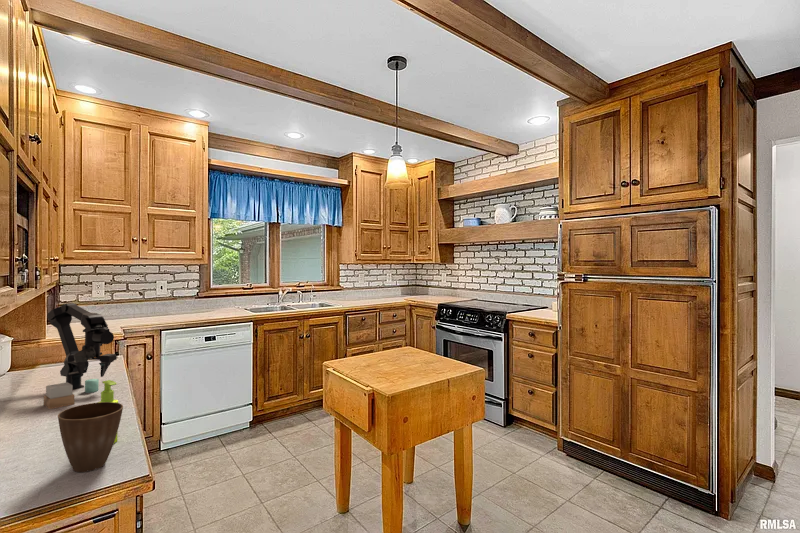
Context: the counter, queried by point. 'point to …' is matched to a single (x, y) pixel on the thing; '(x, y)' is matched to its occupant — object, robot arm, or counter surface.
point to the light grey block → (59, 390)
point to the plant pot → (89, 433)
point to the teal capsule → (91, 385)
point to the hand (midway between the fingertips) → (91, 376)
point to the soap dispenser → (108, 395)
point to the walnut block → (58, 401)
